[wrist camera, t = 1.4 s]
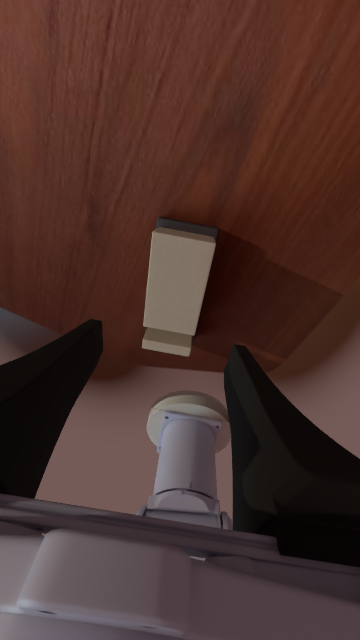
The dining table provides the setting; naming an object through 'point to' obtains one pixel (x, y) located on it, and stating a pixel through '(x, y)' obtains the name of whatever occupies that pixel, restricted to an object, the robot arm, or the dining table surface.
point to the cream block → (176, 283)
